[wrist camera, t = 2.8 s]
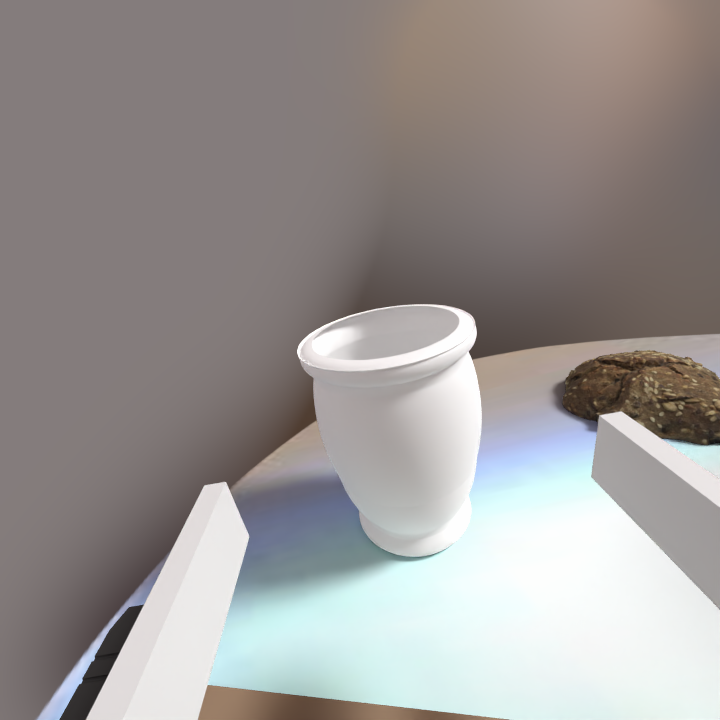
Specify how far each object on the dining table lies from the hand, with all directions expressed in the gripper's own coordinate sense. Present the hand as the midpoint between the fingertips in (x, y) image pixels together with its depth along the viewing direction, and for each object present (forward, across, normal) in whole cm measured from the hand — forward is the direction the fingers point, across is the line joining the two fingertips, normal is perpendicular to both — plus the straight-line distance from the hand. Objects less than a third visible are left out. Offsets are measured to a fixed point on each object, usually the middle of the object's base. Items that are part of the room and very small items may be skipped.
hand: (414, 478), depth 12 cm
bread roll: (+18, +24, -13) cm, 33 cm away
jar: (+10, +1, -13) cm, 16 cm away
